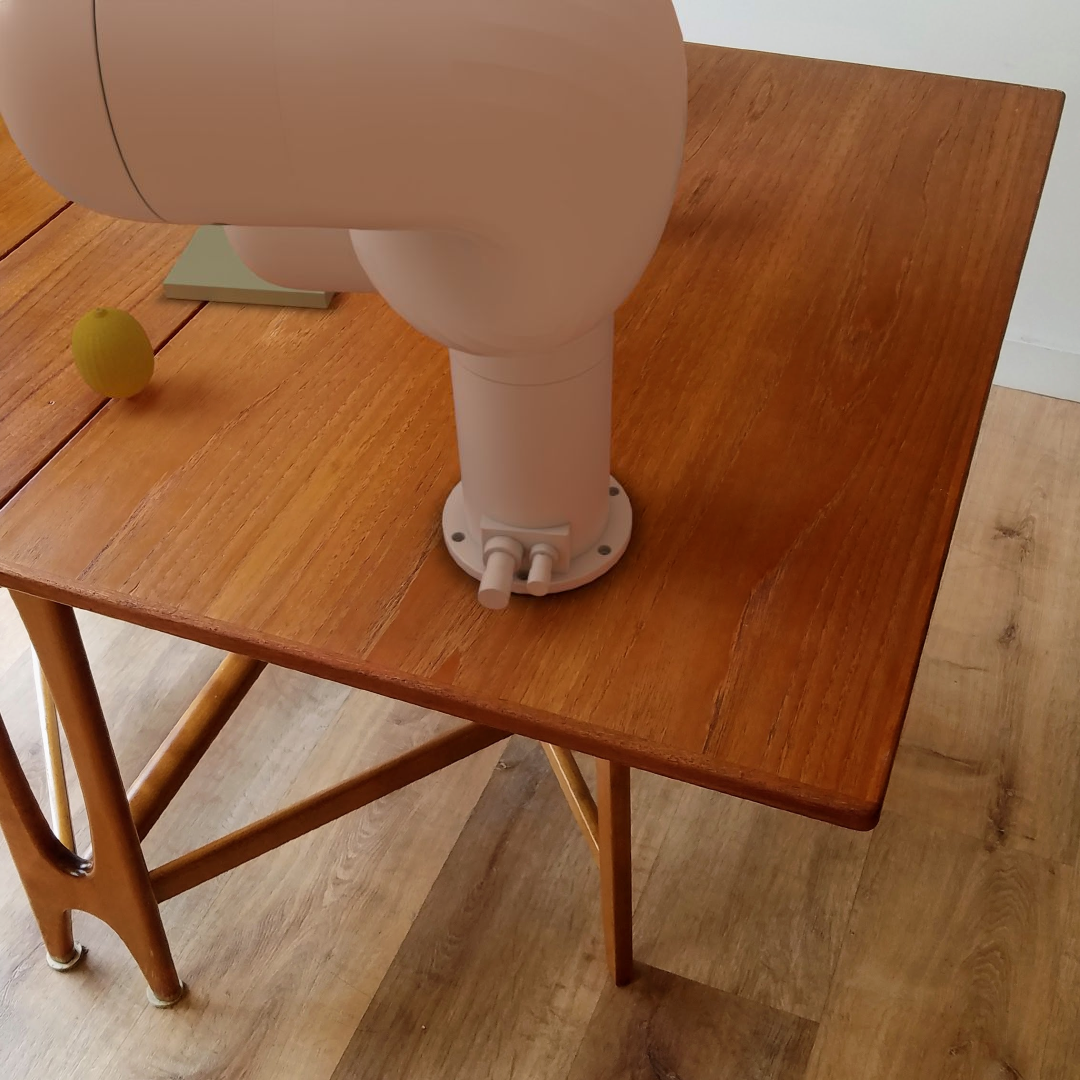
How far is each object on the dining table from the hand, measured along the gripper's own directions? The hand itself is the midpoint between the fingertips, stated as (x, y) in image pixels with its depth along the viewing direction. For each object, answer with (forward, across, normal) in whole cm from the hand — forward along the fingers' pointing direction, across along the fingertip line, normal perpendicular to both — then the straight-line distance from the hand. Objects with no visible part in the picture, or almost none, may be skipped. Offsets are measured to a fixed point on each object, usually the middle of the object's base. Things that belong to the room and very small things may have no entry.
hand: (553, 169), depth 79 cm
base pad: (+16, -12, -27) cm, 34 cm away
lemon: (+16, +10, -31) cm, 37 cm away
